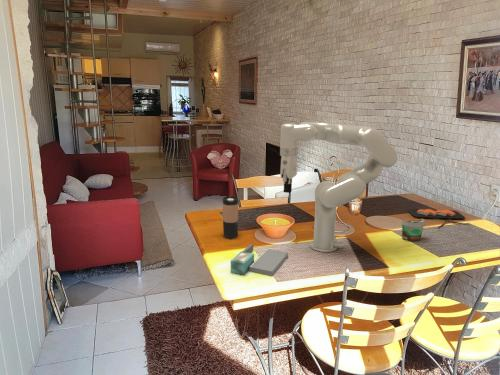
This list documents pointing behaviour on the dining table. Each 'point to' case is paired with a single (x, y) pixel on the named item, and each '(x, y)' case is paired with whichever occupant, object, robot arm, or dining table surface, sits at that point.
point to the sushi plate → (437, 214)
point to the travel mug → (230, 217)
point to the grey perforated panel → (267, 261)
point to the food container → (412, 230)
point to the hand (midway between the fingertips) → (287, 192)
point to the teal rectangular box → (242, 263)
